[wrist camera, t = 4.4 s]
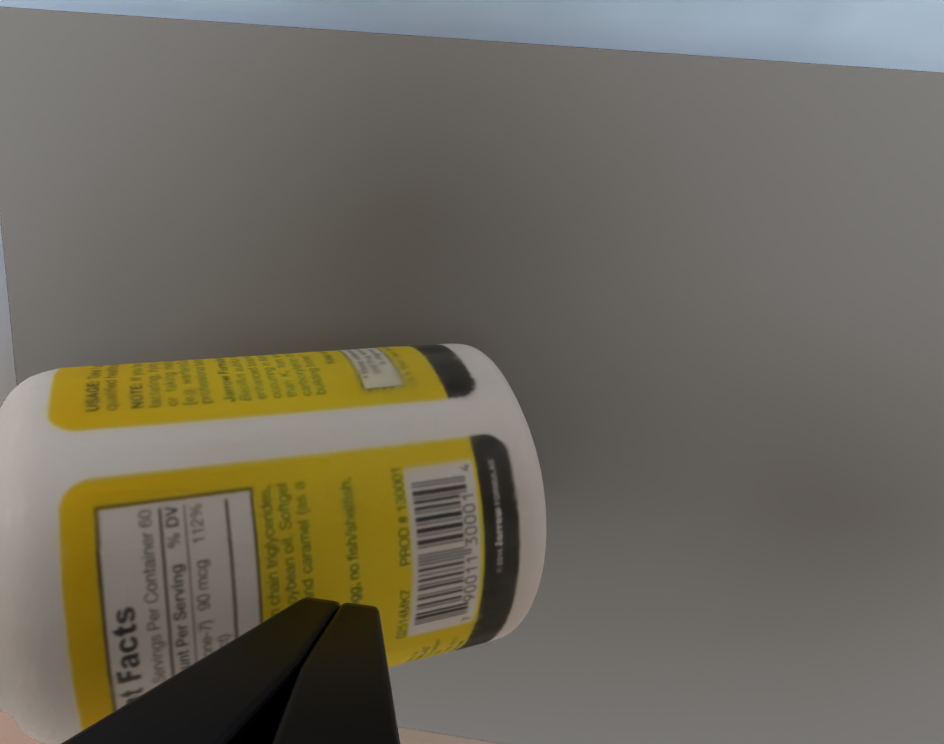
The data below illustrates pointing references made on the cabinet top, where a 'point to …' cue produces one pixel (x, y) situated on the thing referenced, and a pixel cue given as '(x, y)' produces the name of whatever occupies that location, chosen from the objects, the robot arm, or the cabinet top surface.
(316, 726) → the robot arm
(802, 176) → the flat gray panel
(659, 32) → the cabinet top surface
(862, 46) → the cabinet top surface
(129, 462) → the supplement bottle
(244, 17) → the cabinet top surface
